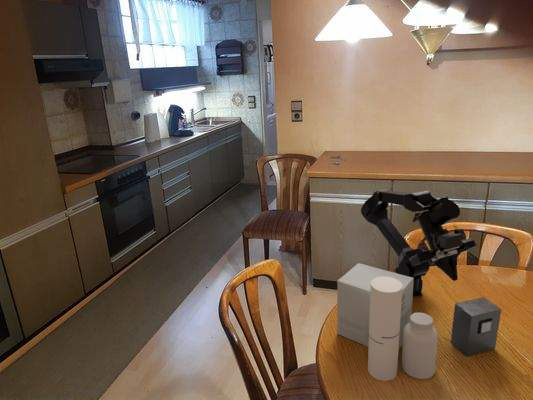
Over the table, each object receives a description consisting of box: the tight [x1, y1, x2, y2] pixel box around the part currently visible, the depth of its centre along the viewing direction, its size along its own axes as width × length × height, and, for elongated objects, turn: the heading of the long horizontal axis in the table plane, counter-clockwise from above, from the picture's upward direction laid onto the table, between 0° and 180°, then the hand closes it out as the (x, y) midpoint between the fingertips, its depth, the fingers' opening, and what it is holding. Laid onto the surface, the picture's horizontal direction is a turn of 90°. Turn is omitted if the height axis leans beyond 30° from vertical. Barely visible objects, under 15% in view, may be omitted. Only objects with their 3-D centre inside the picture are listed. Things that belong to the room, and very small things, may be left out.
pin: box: [478, 319, 492, 333], centre depth 105 cm, size 8×5×5 cm, turn 15°
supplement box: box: [336, 262, 414, 351], centre depth 111 cm, size 17×13×18 cm
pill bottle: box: [401, 312, 439, 380], centre depth 98 cm, size 8×8×15 cm
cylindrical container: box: [367, 277, 402, 382], centre depth 96 cm, size 7×7×25 cm
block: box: [450, 296, 502, 358], centre depth 105 cm, size 6×9×12 cm, turn 105°
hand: (455, 280), depth 113 cm, fingers closed
